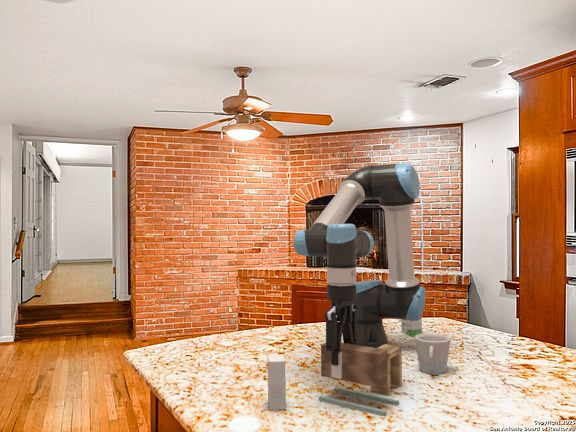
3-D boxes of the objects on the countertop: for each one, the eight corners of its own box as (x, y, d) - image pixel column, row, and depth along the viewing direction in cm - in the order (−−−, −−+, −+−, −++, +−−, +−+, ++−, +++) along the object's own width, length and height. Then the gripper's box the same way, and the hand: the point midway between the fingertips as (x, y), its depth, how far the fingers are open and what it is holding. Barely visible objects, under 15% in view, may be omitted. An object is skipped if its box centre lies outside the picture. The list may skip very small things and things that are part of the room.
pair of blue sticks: (318, 400, 125) (318, 396, 125) (335, 390, 133) (335, 386, 133) (384, 416, 115) (384, 412, 115) (399, 404, 122) (399, 400, 122)
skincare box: (267, 401, 125) (267, 354, 125) (284, 400, 125) (283, 353, 125) (268, 410, 119) (268, 361, 119) (286, 410, 119) (285, 360, 119)
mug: (451, 366, 152) (450, 334, 152) (450, 382, 138) (450, 346, 138) (416, 363, 155) (416, 332, 155) (412, 378, 141) (411, 344, 141)
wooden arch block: (370, 391, 131) (370, 351, 131) (385, 381, 139) (384, 343, 139) (388, 395, 128) (387, 354, 128) (401, 385, 136) (401, 346, 136)
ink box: (422, 336, 190) (422, 305, 190) (411, 337, 189) (410, 306, 189) (411, 331, 198) (411, 302, 198) (400, 332, 197) (400, 302, 197)
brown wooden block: (321, 376, 127) (321, 345, 127) (330, 371, 131) (330, 340, 131) (379, 387, 118) (378, 354, 118) (387, 382, 122) (387, 349, 122)
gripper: (337, 289, 117) (338, 387, 117) (370, 280, 132) (370, 367, 132) (310, 286, 121) (311, 381, 121) (345, 279, 136) (345, 363, 136)
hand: (342, 374), depth 126 cm, fingers closed on brown wooden block, 5 cm apart
